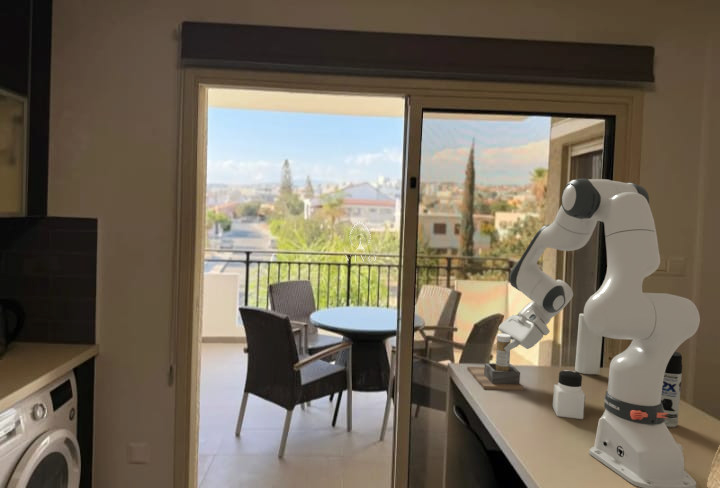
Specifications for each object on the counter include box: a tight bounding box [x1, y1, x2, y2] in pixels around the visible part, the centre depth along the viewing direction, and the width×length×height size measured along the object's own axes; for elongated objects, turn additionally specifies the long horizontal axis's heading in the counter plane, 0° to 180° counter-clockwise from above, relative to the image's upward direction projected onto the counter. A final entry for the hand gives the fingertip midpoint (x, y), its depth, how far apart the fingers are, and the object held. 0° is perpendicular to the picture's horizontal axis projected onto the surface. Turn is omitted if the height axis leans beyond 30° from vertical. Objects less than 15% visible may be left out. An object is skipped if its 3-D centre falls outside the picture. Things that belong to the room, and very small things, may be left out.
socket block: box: [466, 362, 525, 391], centre depth 171 cm, size 20×13×5 cm, turn 3°
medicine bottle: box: [552, 369, 586, 420], centre depth 143 cm, size 7×7×12 cm
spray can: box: [661, 351, 683, 429], centre depth 140 cm, size 7×7×20 cm
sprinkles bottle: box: [495, 333, 512, 371], centre depth 168 cm, size 5×5×13 cm
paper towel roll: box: [574, 313, 603, 375], centre depth 183 cm, size 7×6×21 cm
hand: (501, 347), depth 167 cm, fingers closed on sprinkles bottle, 4 cm apart
